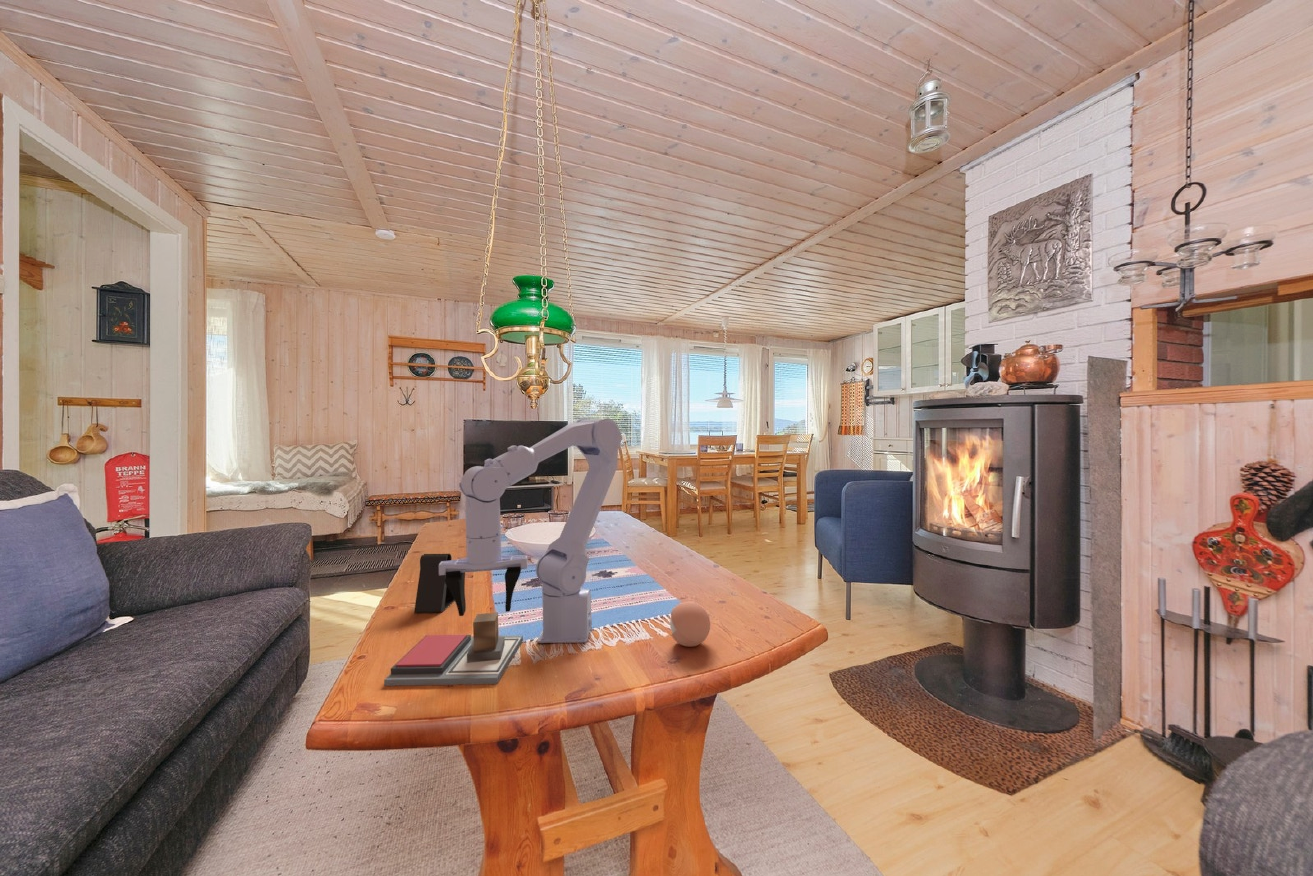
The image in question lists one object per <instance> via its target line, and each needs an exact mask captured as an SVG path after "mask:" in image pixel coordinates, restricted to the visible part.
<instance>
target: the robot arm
mask: <svg viewBox="0 0 1313 876" xmlns="http://www.w3.org/2000/svg"><path fill="white" fill-rule="evenodd" d="M622 435H623V434H621V430H620V428H619V426H618V423H616V421H615V420H614V419H612V418H610V417H605V418H604V417H603V418H595V419H591V418H590V419H588V418H581V419H578V420H577V421H575V422H570V423H567V425H565V426H564V427H562V428H560V429H559V430H557V431H555V432H554V433H552V434H550V435H548V436H547V437H544V438H543V439H542V440H540V441H539V442H537V443H535V444H534V445H532V446H529V447H528V446H526V445H525V446H524V445H518V446H517V445H510V446H509V447H507V452H504V453H503V454H500V455H498V456H497V457H495V458H493V459H492V458H487V459H485V460H484V464H483V465H484V466H481V465H476V466H472V467H470V468H468V469H467V470H466V471H465V472H464V474H462V477H461V480H460V481H459V483H458V487H459V490H460V492H461V493H462V495H464V498H465V513H464V514H465V543H466V557H465V558H458V559H452V560H450V561H441V563H440V564H439V576H440V575H446V578H445V584H446V586H447V587H448V588H449V590H450V592H451V593H452V595H453V597H454V600H455V601H454V603H455V604H456V608H457V612H458V616H459V617H462V616H464V615H465V613H466V610H467V604H466V595H465V590H466V589H465V587H466V586H465V584H466V573H475V572H487V571H488V572H490V571H502V570H506V571H505V573H504V582H505V584H504V585H505V606H504V607H505V613H506V612H507V613H508V612H511V608H512V600H513V595H514V591H515V588H516V585H517V582H518V580H519V578H520V576H521V571H522V570H527V569H528V564H529V563H528V555H507V554H505V555H503V554H502V531H501V528H502V527H501V502H500V501H501V500H500V499H501V497H502V496H504V495H503V494H504V493H505V491H506V489H508V488H510V487H511V486H513V485H515V484H516V483H518V482H520V481H521V480H524V479H526V478H527V477H529V476H530V475H532V474H534V473H535V472H536V471H537V469H538V466H539V464H540V463H541V462H544V460H547V459H549V458H551V457H553V456H555V455H556V454H559V453H561V452H562V451H565V450H567V449H569V448H571V447H574V446H575V447H576V448H577V449H578V450H579V452H580V453H581V455H583V457H584V458H585V459H586V462H587V464H588V469H587V472H586V474H585V476H584V478H583V481H582V482H581V483H582V484H581V485H580V488H579V491H578V493H577V494H576V495H577V496H576V497H575V500H574V502H573V505H572V507H571V510H570V512H569V514H568V516H567V519H566V522H565V523H564V526H563V528H562V531H561V533H560V535H559V536H558V538H557V539H555V540H553V541H552V542H551V543H550V544H549V545H548V547H547V550H546V551H545V553H544V554H542V556H540V558H539V559H538V561H537V563H536V566H535V574H536V577H537V578H538V580H539V581H540V582H541V589H542V590H541V591H542V595H541V596H542V631H540V635H538V638H537V640H536V641H537V643H538V644H551V643H552V644H554V643H555V644H556V643H557V644H559V643H560V644H561V643H562V644H564V643H567V644H571V643H587V642H588V639H589V636H590V633H591V630H592V625H593V623H592V622H593V621H592V593H591V589H588V588H587V589H586V588H583V586H584V584H585V581H586V580H587V568H588V564H589V561H590V558H589V555H588V551H587V550H586V549H587V548H586V546H587V543H588V540H589V539H590V536H591V532H592V530H593V528H594V526H595V523H596V521H597V519H598V516H599V513H600V511H601V509H602V507H603V504H604V501H605V498H606V497H607V493H608V491H609V488H610V486H611V484H612V481H613V480H614V479H613V478H614V476H615V473H616V472H617V468H618V463H619V462H618V459H619V447H620V445H621V443H622V441H623V436H622Z"/></svg>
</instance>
